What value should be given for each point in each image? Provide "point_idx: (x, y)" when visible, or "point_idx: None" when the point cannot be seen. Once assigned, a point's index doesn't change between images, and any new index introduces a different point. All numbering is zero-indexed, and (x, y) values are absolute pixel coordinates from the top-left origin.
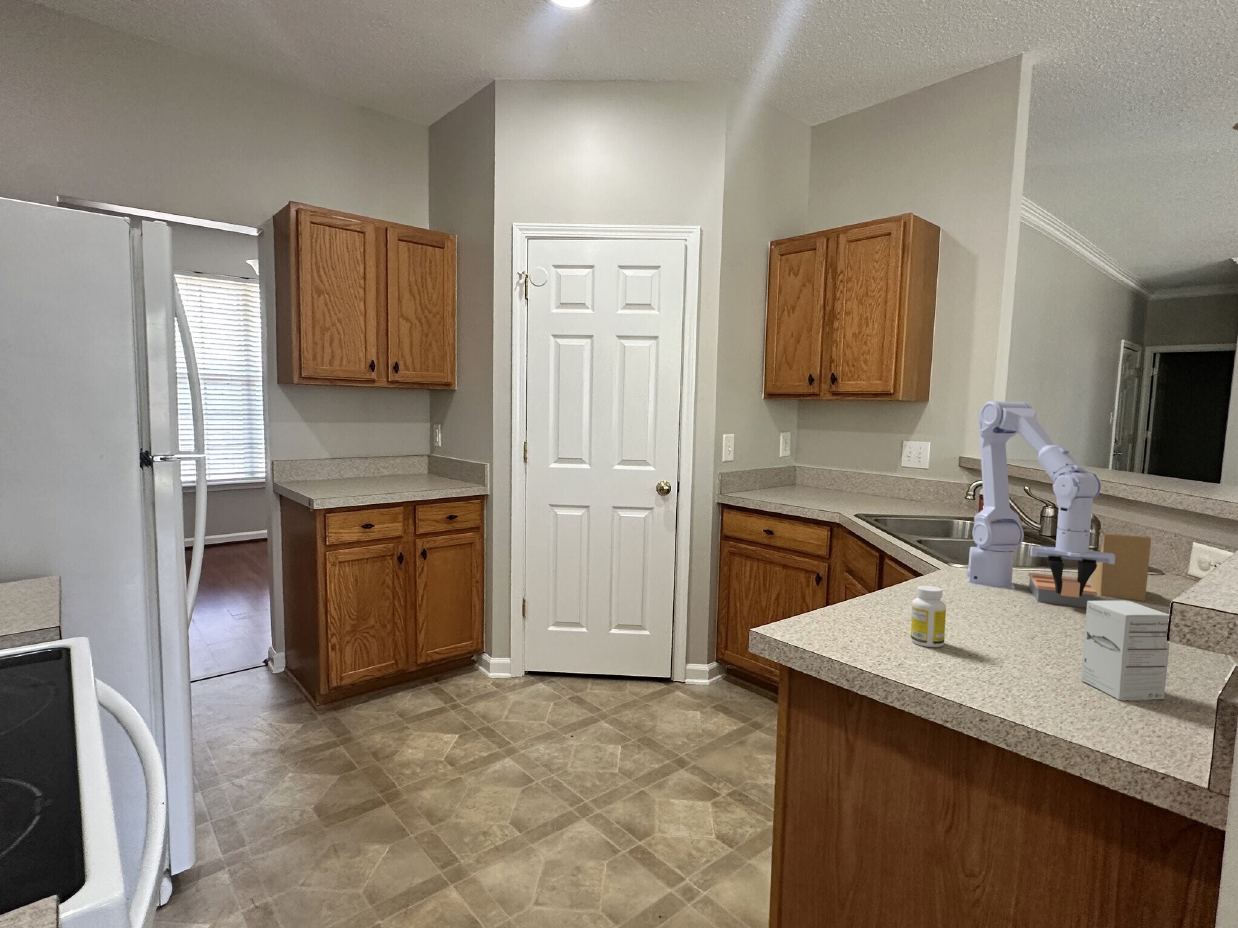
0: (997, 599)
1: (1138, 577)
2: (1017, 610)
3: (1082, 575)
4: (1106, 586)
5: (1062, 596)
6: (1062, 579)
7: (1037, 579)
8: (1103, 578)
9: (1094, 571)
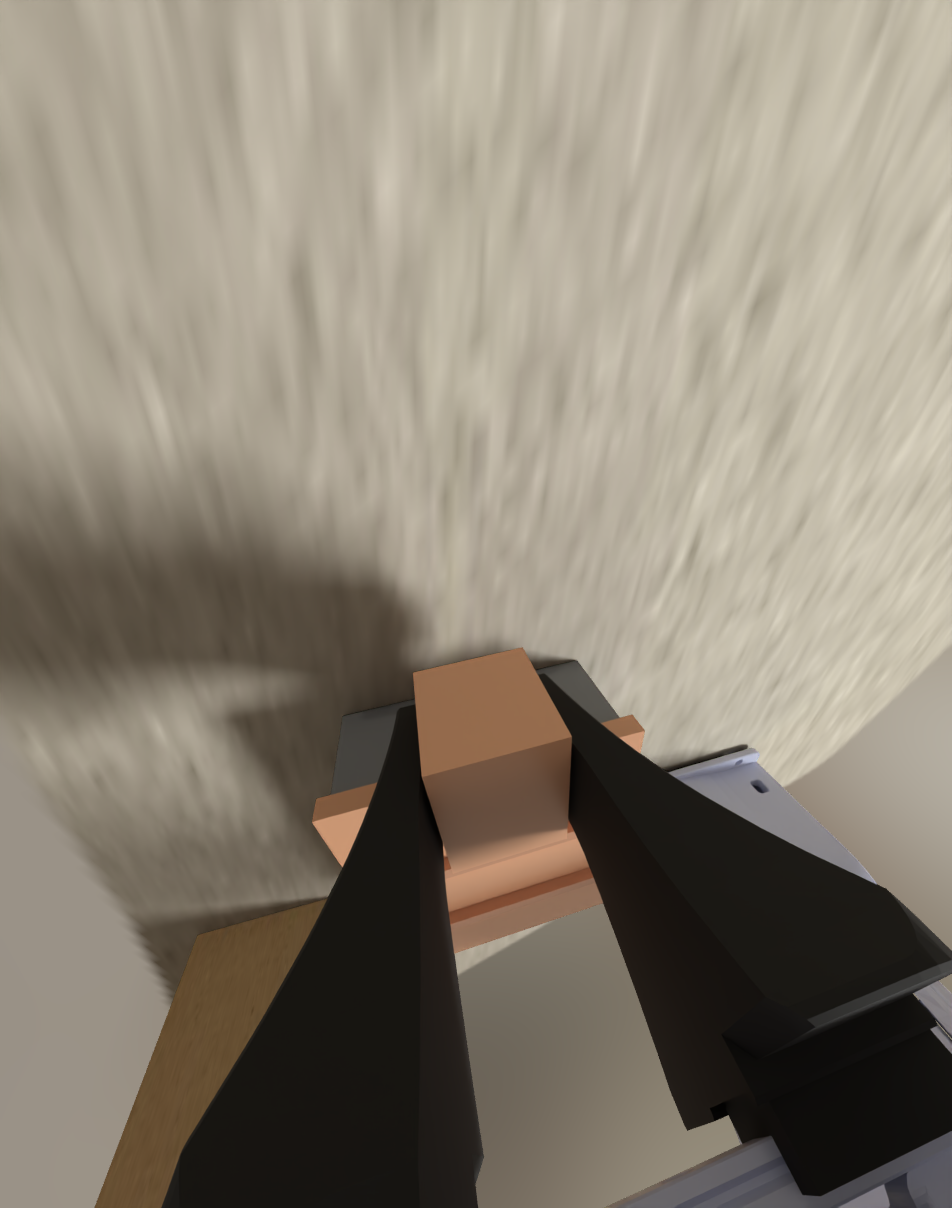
0: (727, 626)
1: (171, 1097)
2: (711, 458)
3: (410, 885)
4: None
5: None
6: (558, 793)
7: None
8: None
9: None
